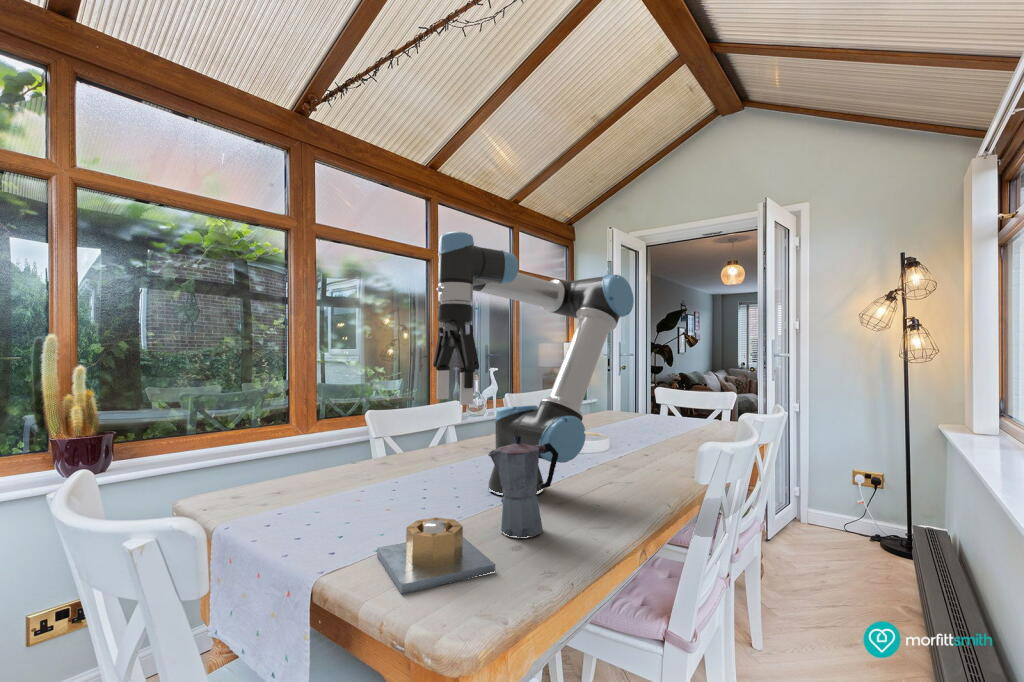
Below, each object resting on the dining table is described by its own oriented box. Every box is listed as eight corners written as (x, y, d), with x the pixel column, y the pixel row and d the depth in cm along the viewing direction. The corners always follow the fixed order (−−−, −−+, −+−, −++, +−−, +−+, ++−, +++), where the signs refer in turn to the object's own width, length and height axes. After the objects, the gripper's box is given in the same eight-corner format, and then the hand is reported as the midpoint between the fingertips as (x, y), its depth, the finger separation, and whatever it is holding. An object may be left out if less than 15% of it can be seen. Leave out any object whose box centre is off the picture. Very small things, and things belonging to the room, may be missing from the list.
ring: (449, 542, 91) (449, 515, 91) (468, 560, 83) (468, 530, 83) (401, 550, 87) (402, 522, 87) (417, 570, 79) (417, 539, 79)
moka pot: (480, 527, 103) (482, 433, 104) (546, 520, 109) (547, 430, 109) (495, 544, 94) (496, 440, 95) (566, 534, 100) (567, 437, 100)
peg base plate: (458, 541, 96) (459, 505, 96) (495, 573, 82) (495, 531, 82) (377, 555, 88) (377, 517, 88) (401, 594, 74) (402, 547, 74)
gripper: (420, 307, 115) (419, 397, 115) (461, 297, 93) (460, 407, 93) (450, 309, 119) (448, 396, 118) (496, 299, 97) (495, 406, 96)
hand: (453, 401), depth 105 cm, fingers open, 13 cm apart
